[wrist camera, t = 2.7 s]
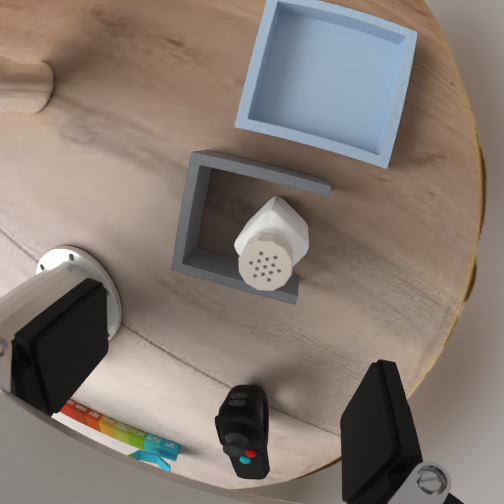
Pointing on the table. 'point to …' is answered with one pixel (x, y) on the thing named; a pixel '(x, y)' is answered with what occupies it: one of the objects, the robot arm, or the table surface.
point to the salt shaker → (271, 245)
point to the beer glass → (24, 86)
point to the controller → (245, 430)
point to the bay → (191, 215)
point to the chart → (125, 435)
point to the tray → (328, 78)
